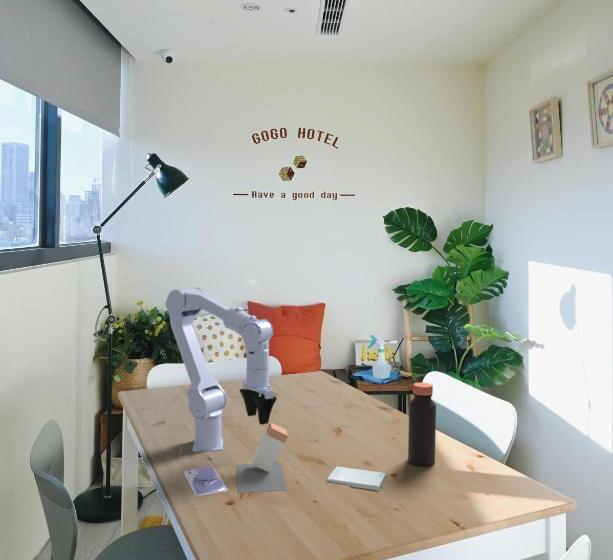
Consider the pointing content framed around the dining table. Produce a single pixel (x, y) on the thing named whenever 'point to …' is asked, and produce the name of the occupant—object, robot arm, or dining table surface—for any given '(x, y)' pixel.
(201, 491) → the mobile phone
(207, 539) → the dining table surface
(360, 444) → the dining table surface
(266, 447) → the block
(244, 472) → the mat
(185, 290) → the robot arm
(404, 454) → the dining table surface
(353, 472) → the hard drive
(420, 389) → the bottle
